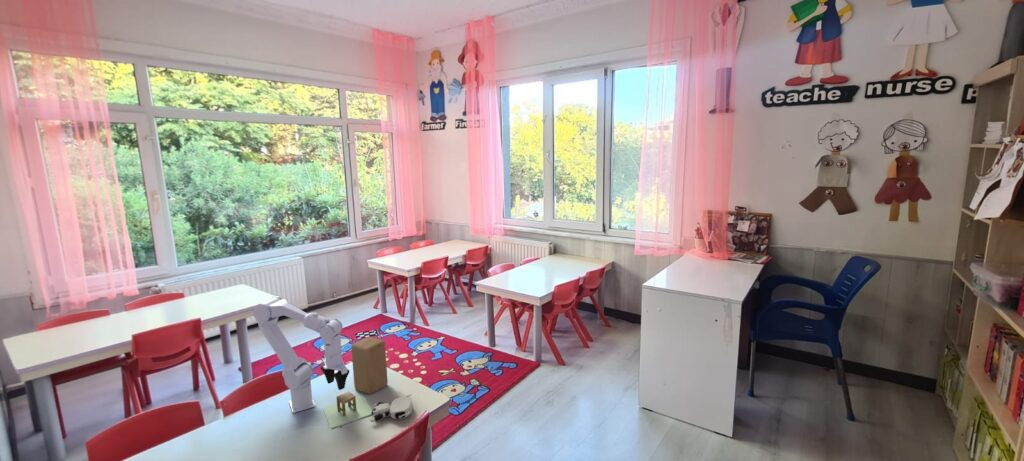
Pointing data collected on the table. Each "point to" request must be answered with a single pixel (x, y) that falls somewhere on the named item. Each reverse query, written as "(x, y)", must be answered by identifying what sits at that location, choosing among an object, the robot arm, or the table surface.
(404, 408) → the robot toy
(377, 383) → the wooden block
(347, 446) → the table surface
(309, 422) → the table surface
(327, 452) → the table surface
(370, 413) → the sage mat
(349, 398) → the brown handled box
